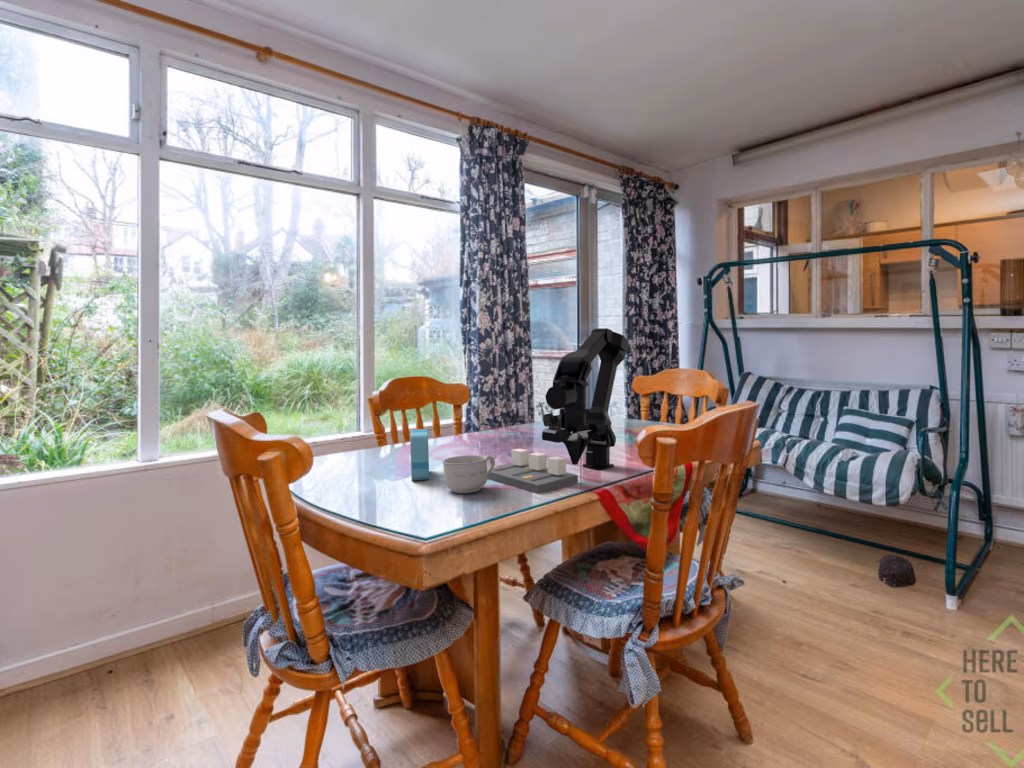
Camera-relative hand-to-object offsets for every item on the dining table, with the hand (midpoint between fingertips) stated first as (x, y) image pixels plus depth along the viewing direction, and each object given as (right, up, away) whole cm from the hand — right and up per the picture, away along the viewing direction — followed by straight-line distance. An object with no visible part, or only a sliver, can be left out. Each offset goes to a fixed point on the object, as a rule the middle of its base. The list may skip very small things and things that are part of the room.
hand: (574, 464), depth 151 cm
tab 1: (-14, -1, +6) cm, 16 cm away
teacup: (-26, -5, -9) cm, 28 cm away
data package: (-41, -4, +5) cm, 41 cm away
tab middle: (-10, -1, +1) cm, 10 cm away
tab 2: (-5, -2, -4) cm, 7 cm away
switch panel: (-12, -4, -1) cm, 13 cm away
